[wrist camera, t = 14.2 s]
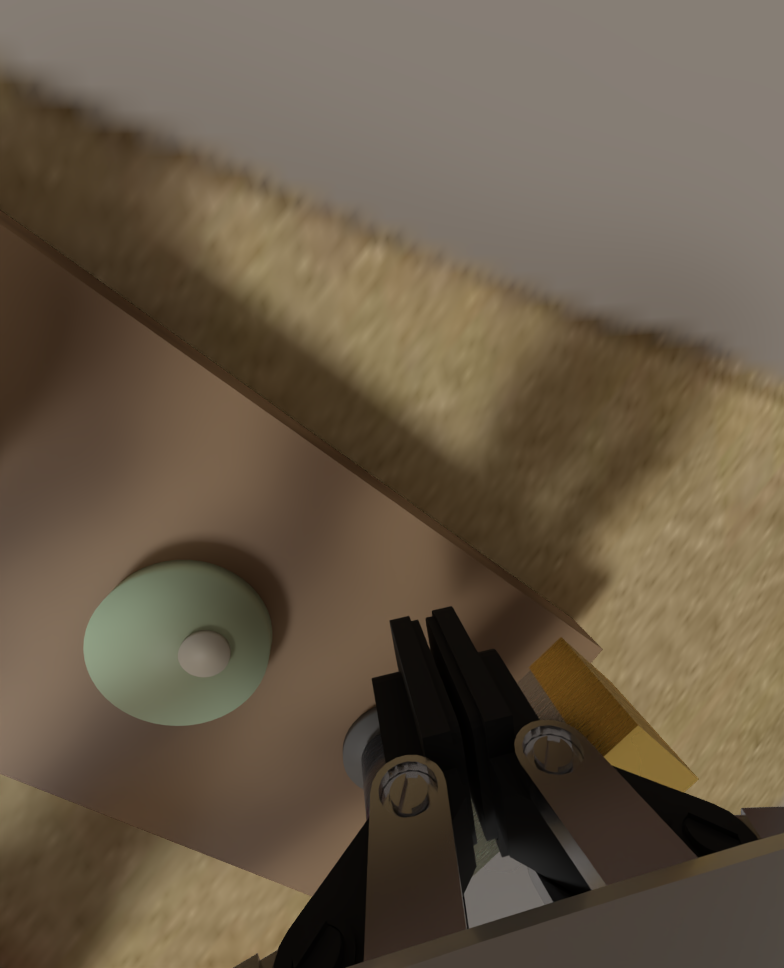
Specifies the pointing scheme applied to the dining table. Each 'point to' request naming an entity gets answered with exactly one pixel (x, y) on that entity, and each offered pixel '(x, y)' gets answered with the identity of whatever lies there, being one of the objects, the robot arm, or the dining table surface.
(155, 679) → the level plate
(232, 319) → the dining table surface
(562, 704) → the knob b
